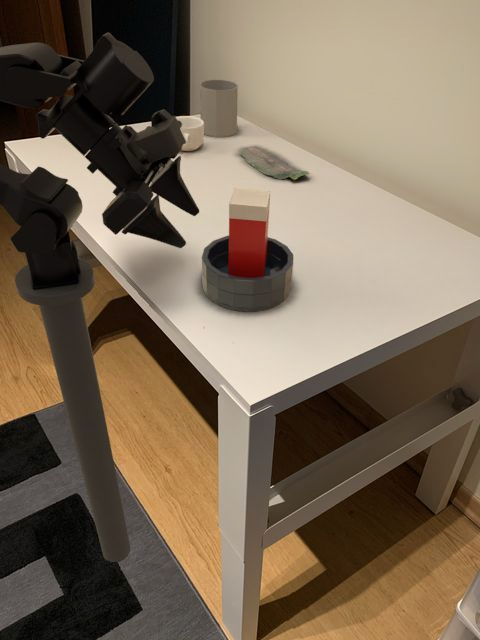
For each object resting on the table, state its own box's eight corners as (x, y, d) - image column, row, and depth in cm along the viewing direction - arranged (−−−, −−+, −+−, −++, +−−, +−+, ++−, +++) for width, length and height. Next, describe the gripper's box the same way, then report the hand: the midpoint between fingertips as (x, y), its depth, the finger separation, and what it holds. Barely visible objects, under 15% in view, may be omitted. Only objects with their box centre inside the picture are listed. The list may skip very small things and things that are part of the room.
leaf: (230, 156, 121) (230, 151, 120) (260, 149, 124) (260, 144, 123) (281, 185, 107) (281, 180, 106) (313, 177, 110) (313, 172, 109)
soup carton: (228, 290, 78) (229, 203, 70) (232, 272, 82) (234, 188, 73) (262, 293, 78) (267, 207, 69) (265, 275, 81) (270, 191, 73)
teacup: (169, 140, 123) (167, 115, 119) (203, 141, 124) (203, 116, 120) (168, 158, 115) (167, 131, 112) (205, 158, 116) (205, 132, 113)
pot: (216, 318, 74) (216, 286, 71) (193, 269, 83) (192, 239, 80) (303, 303, 77) (307, 273, 74) (272, 258, 86) (274, 229, 83)
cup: (214, 122, 134) (213, 77, 128) (243, 129, 131) (244, 84, 125) (193, 131, 128) (192, 85, 122) (223, 139, 125) (224, 92, 119)
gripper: (117, 120, 57) (222, 227, 64) (160, 74, 72) (242, 165, 78) (57, 185, 63) (159, 278, 69) (108, 131, 77) (189, 211, 84)
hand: (190, 229), depth 75 cm, fingers open, 9 cm apart
